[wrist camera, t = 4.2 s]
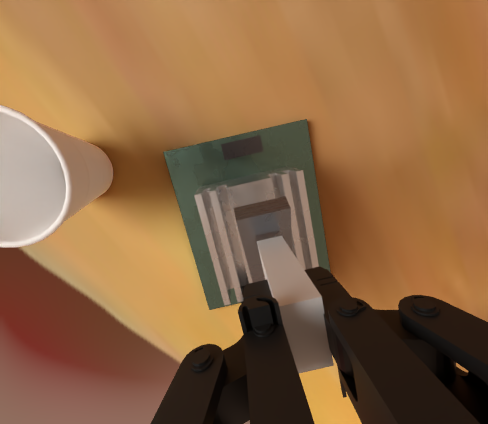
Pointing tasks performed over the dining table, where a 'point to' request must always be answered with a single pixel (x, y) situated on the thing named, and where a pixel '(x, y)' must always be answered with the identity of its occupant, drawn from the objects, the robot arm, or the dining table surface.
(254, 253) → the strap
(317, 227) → the green circuit board
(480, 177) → the dining table surface
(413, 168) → the dining table surface
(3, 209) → the cup
